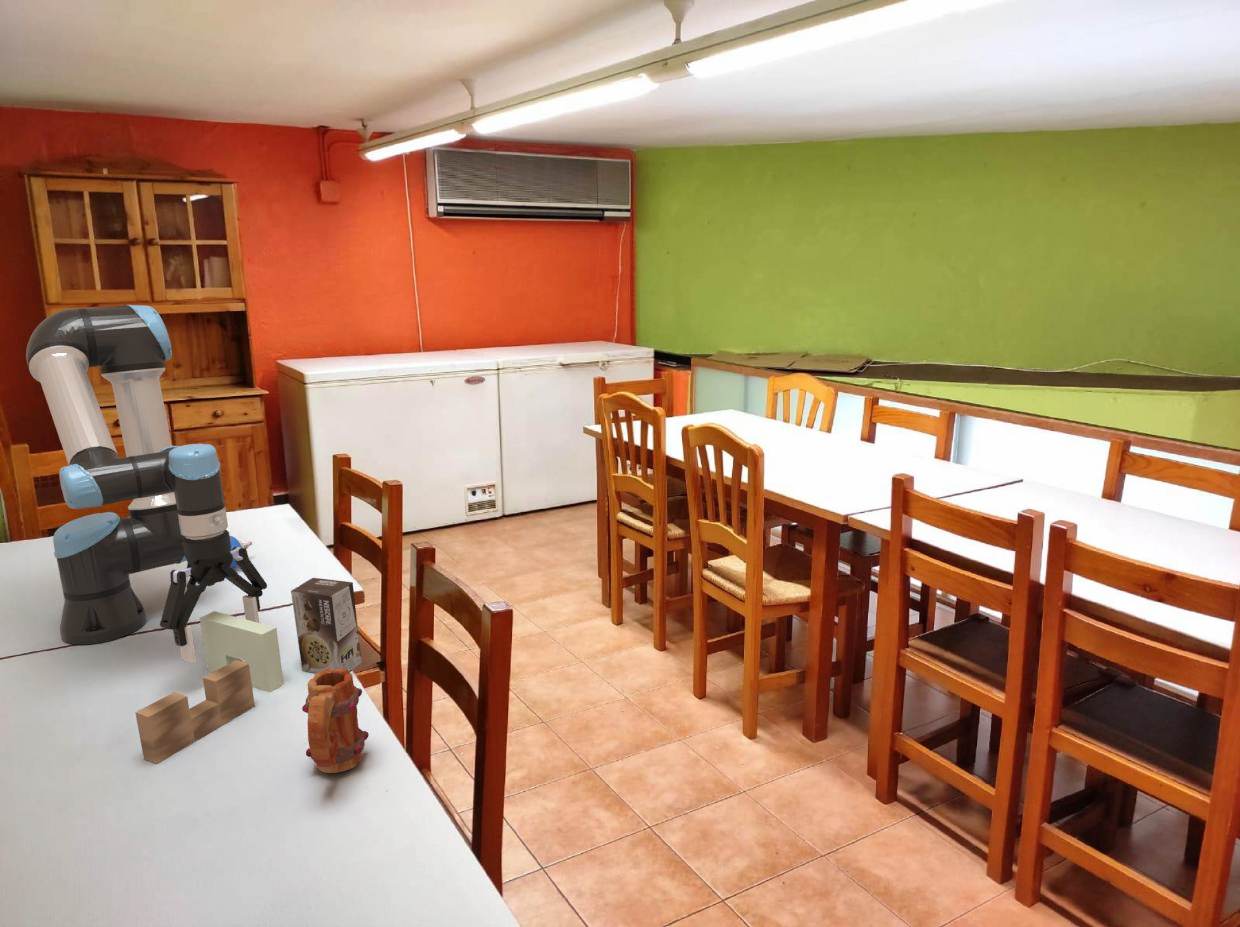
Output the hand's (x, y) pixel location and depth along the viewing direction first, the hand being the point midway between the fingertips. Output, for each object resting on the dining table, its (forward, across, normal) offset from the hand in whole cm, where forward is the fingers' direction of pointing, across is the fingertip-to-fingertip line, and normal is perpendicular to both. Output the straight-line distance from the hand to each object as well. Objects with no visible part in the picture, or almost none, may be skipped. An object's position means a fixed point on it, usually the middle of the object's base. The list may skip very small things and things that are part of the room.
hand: (222, 644), depth 152 cm
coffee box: (+6, +10, -16) cm, 20 cm away
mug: (+7, -14, -41) cm, 43 cm away
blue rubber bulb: (+5, +37, +44) cm, 58 cm away
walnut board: (+6, -15, -13) cm, 20 cm away
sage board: (+6, 0, -5) cm, 7 cm away
